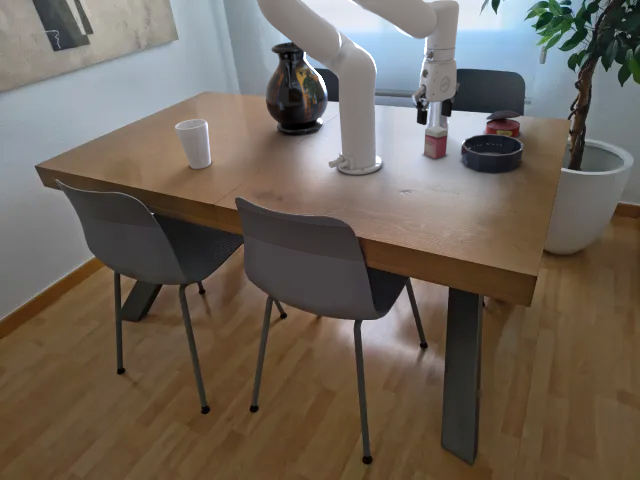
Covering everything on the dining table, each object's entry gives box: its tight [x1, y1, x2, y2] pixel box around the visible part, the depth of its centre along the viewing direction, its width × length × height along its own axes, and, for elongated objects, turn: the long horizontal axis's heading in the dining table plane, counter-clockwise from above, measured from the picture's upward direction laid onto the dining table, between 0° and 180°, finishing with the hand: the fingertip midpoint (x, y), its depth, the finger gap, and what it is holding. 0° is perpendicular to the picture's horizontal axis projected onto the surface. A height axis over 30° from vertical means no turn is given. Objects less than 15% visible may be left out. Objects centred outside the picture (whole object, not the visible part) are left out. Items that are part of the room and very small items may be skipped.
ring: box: [460, 134, 525, 174], centre depth 122 cm, size 15×15×5 cm
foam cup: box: [174, 118, 212, 170], centre depth 136 cm, size 10×9×13 cm
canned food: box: [484, 109, 521, 138], centre depth 138 cm, size 11×10×10 cm
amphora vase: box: [265, 41, 329, 136], centre depth 152 cm, size 22×22×28 cm
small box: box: [423, 126, 449, 160], centre depth 128 cm, size 5×4×8 cm
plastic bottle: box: [426, 100, 449, 131], centre depth 137 cm, size 6×7×20 cm
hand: (434, 119), depth 124 cm, fingers open, 9 cm apart
